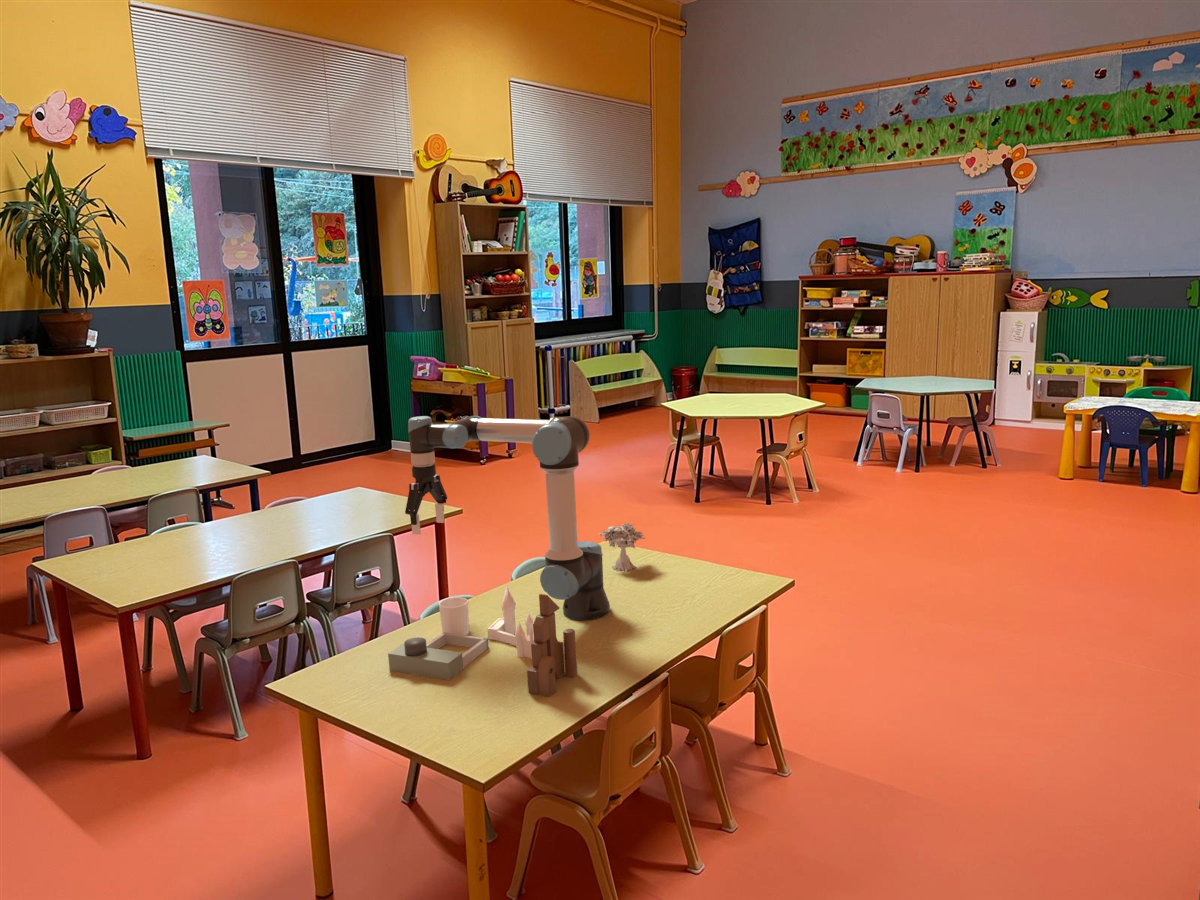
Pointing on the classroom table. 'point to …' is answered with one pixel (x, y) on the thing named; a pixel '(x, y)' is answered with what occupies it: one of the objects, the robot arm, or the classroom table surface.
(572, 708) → the classroom table surface
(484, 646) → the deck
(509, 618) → the toy castle
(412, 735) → the classroom table surface
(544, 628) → the wooden toy
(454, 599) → the mug
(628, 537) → the tree
